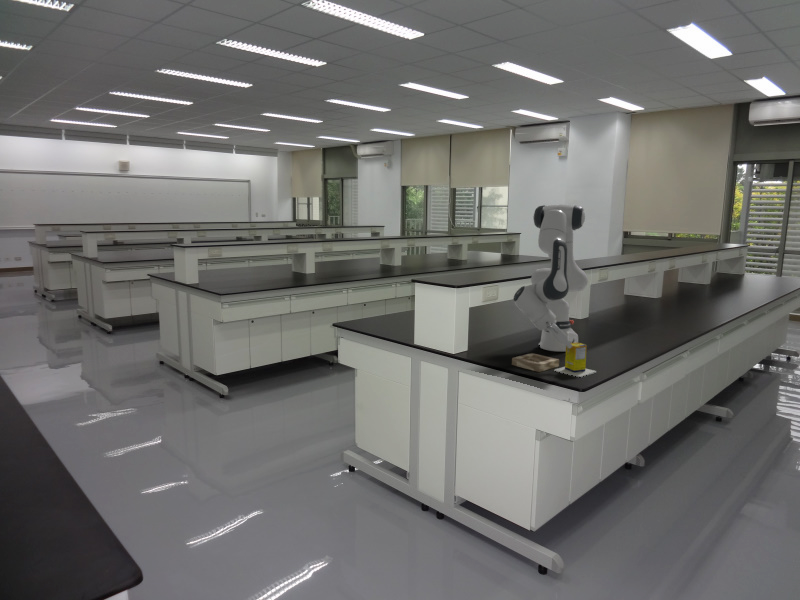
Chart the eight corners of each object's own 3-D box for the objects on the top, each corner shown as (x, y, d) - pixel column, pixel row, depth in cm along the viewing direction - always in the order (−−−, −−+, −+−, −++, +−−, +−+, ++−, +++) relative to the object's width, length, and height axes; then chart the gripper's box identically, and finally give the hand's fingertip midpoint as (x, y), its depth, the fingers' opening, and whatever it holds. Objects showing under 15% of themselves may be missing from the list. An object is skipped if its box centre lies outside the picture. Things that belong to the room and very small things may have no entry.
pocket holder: (531, 359, 238) (532, 353, 237) (558, 366, 227) (559, 359, 227) (511, 364, 229) (512, 358, 228) (539, 372, 218) (539, 364, 218)
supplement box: (575, 367, 223) (577, 342, 222) (585, 371, 218) (587, 345, 216) (564, 368, 221) (565, 343, 220) (573, 372, 216) (575, 346, 214)
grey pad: (570, 366, 227) (570, 364, 227) (596, 372, 218) (596, 371, 218) (554, 371, 220) (554, 369, 220) (580, 377, 211) (580, 376, 211)
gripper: (555, 319, 206) (580, 345, 207) (546, 310, 226) (568, 333, 227) (543, 330, 207) (567, 355, 208) (535, 320, 228) (557, 343, 228)
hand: (568, 344), depth 218 cm, fingers open, 8 cm apart
